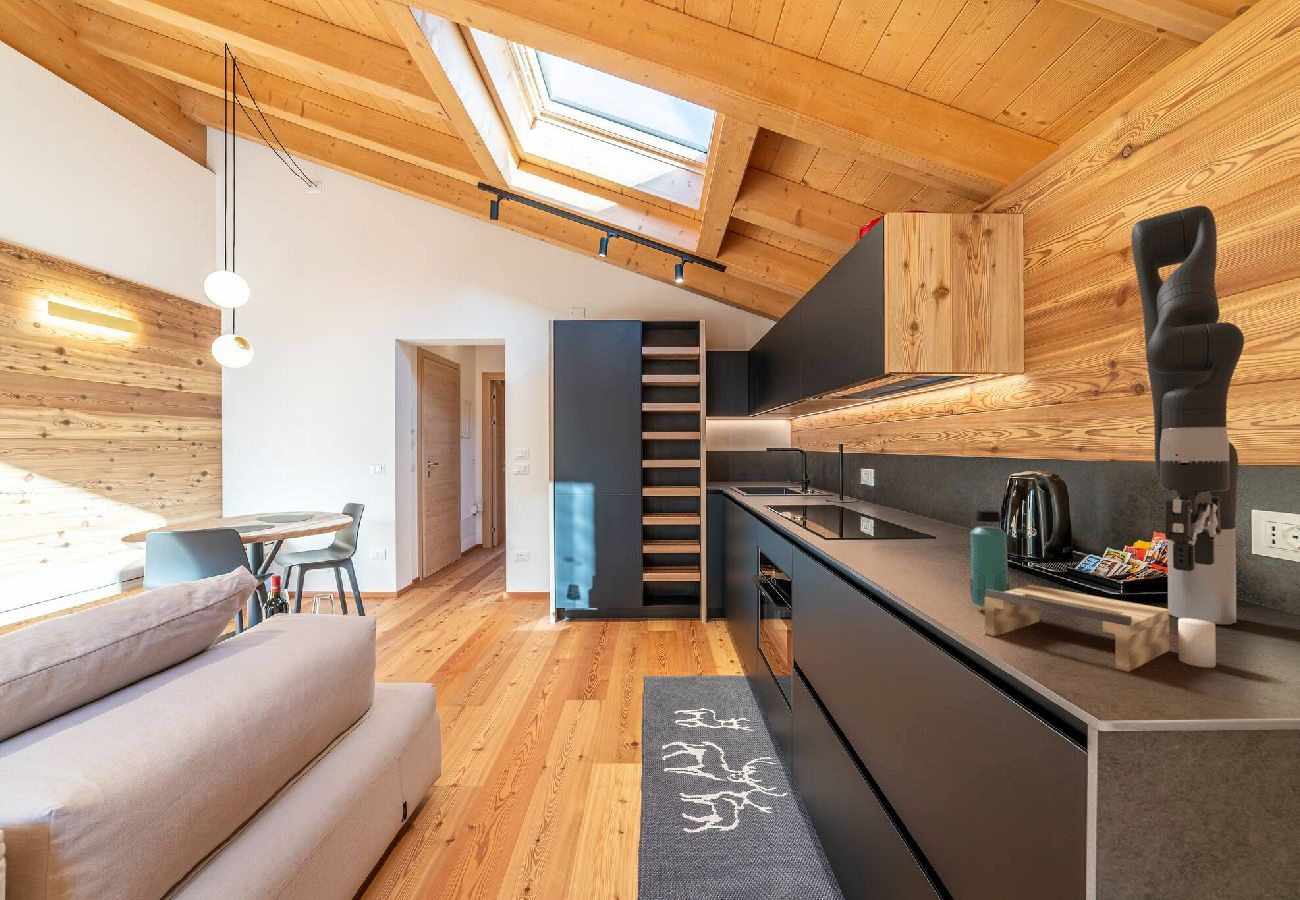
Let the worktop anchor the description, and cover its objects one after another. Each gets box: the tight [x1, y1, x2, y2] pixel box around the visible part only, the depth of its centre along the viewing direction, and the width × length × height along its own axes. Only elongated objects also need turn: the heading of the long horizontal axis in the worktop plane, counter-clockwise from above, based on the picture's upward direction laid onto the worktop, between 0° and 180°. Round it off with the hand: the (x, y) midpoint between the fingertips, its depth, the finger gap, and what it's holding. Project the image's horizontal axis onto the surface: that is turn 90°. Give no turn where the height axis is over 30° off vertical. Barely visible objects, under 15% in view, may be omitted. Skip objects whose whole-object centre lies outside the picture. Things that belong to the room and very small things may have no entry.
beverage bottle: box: [969, 509, 1010, 608], centre depth 113 cm, size 6×7×20 cm
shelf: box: [984, 584, 1170, 673], centre depth 95 cm, size 16×20×8 cm
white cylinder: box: [1177, 618, 1217, 668], centre depth 85 cm, size 4×4×6 cm
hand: (1194, 567), depth 85 cm, fingers open, 8 cm apart
